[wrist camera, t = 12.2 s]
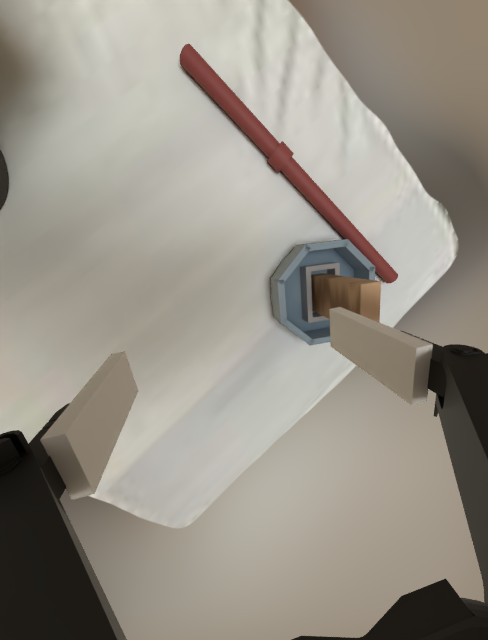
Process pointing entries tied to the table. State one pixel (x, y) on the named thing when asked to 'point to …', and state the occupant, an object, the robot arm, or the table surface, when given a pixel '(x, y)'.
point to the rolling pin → (280, 157)
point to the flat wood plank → (345, 295)
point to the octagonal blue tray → (295, 284)
